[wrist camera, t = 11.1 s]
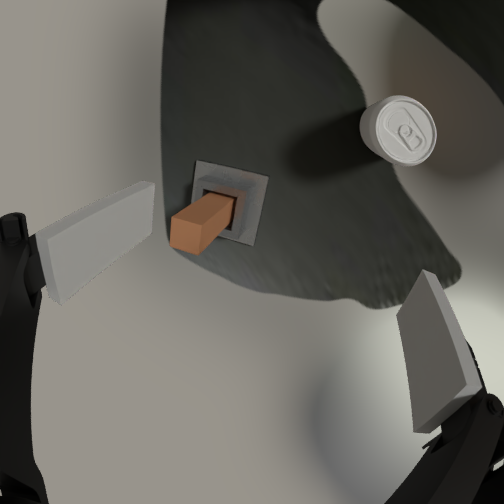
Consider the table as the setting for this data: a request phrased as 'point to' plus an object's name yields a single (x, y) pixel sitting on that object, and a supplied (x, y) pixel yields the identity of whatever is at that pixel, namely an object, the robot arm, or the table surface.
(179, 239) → the orange square peg
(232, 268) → the table surface
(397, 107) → the beverage can
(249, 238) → the grey square socket
